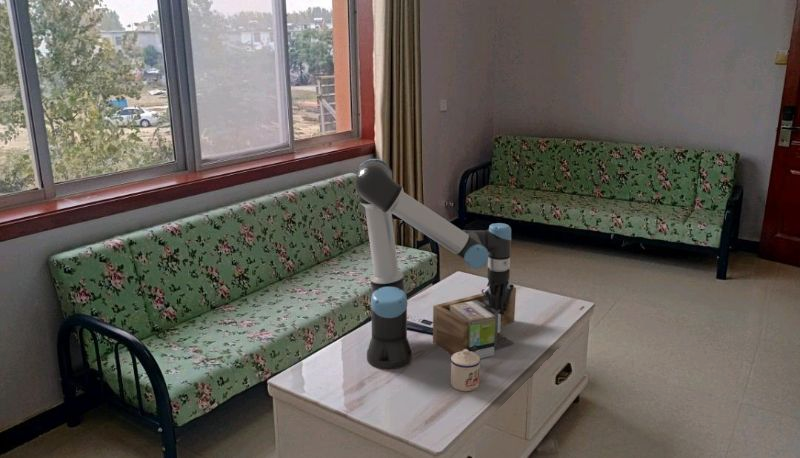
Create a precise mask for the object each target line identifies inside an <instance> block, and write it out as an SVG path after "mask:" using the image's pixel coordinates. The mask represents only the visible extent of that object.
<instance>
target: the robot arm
mask: <svg viewBox="0 0 800 458" xmlns="http://www.w3.org/2000/svg"><path fill="white" fill-rule="evenodd" d="M354 186H355V187H354V188H355V190H356V192H357V194H358V198H359V204H360V205H362V206H363V207H364V210H365V218H366V224H367V231H368V232H367V233H368V239H369V240H368V241H369V247H370V256H371V262H372V263H371V264H372V270H373V274H372V275H371V276H370V278H369V281H370V288H371V297H370V307H371V311H370V312H371V314H370V315H371V339H370V342H369V344H368V347H367V351H366V360H367V363H368V364H370V365H371V366H372V367H375V368H379V369H383V370H385V369H386V370H394V369H400V368H404V367H405V366H408V365H409V364H410V363H411V362H412V359H413V351H412V348H411V345H410V342H409V339H408V331H407V330H408V322H407V321H408V298H407V289H406V285H405V277H404V273H403V272H402V271H401V270H399V264H398V263H399V262H398V257H397V256H398V255H397V249H396V247H397V246H396V239H395V231H394V224H393V223H394V221H393V215H394V216H396V217H397V218H399V219H401V220H402V221H404V222H405V223H406V224H408V225H410V226H411V227H413V229H416V230H417V231H418V232H420V233H422V234H423V235H425V236H427V237H428V238H430V239H432V241H434V242H436V243H437V244H439V245H441V246H442V247H443V248H445V249H447V250H449V252H451V253H453V254H454V255H456V256H457V257H459V258H460V259H462V260H463V261H464V262H465V263H466V265H467V266H468V267H470V268H471V269H473V270H474V269H475V270H479V269H481V268H483V267H485V266H486V265H487V278H486V279H487V280H488V282H487V285H486V287H485V289H484V288H483V289H481V294H482V293H483V295H484V300H485V305H487V306H489V307H491V308H493V309H495V310H496V311H498V331H497V333H500V332H501V326H500V324H501V321H502V315H504V314H505V313H504V311H507V308H508V304H509V300H510V295H511V291H512V289H513V287H515V285H514V284H512V283H510V281H509V280H510V273H511V271H510V267H511V266H510V265H511V248H512V246H511V245H512V228H511V226H510V225H509V224H506V223H502V222H497V223H491V224H490V225H489V227H488V229H486V230H465V229H463V230H462V229H461V228H459V227H458V226H456V225H455V224H453V223H451V222H450V221H449V220H447V219H445V218H444V217H443V216H441V215H440V214H438V213H436V212H435V211H433V210H432V209H430V208H429V207H427V206H426V205H425V204H423V203H422V202H419V201H418V200H416V199H415V198H414V197H412V196H410V195H409V194H408V193H406V192H405V191H404V187H403V186H401V185H400V184H398V183H397V182H396V181H395V180H394V179H393V171H392V169H391V167H390V165H388V163H387V162H385V160H384V161H383V160H382V159H379V158H370V159H368V160H366V161H364V162H362V163H361V164H360V165H359V167H358V168H357V171H356V176H355V179H354Z"/></svg>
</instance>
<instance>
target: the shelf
mask: <svg viewBox="0 0 800 458" xmlns="http://www.w3.org/2000/svg"><path fill="white" fill-rule="evenodd" d="M516 294H517V287H516V286H514V287H513V289H512V291H511V295H510V300H509V304H508V308H507V311H504V313H505V314H504V315H502V321H501V324H500V327H502V326H505V325H508V324H511V323H514V322H515V315H516V314H515V313H516ZM474 300H477V301H479V302H481V303H483V304H485V300H484V295H483V293H482V292H481V293H479V294H474V295H470V296H467V297H462V298H457V299H454V300H451V301H447V302H442V303H440V304H439V303H438V304H436V305H433V309H432V310H433V312H432V343H433V344H434V345H436V346H437V347H439V348H441V350H443V351H444V352H446V353H447V354H450V355H451V356H452V355H453V354H454V353H456V352H460V351H463V350H464V349H467V341H468V322H467V321H466V320H464V319H462V318H460V317H459V316H457V315H455V314H454V313H452V312H450V305H453V304H459V303H465V302H470V301H474Z"/></svg>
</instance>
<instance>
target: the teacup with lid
mask: <svg viewBox="0 0 800 458" xmlns="http://www.w3.org/2000/svg"><path fill="white" fill-rule="evenodd" d="M481 361H482V360H481V358H480V357H479V356H478V355H477V354H475V353H473V352H469V350H467V349H464V350H463V351H460V352H456V353H454V354H453V355H451V356H450V363H451V366H450V367H451V369H450V384H451V386H452V388H454V389H456V390H458V391H461V392H471V391H474V390H476V389H478V387H479V386H480V369H481V368H480V365H481Z"/></svg>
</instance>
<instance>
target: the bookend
mask: <svg viewBox="0 0 800 458" xmlns="http://www.w3.org/2000/svg"><path fill="white" fill-rule="evenodd" d="M474 301H475V302H476V303H477V304H479V305H480V306H482V307H483V308H485V309H486V310H488V311H489V312H490V313H492V314H493V315H495V340H494V351H495V350H498V349H501V348H504V347H508V346H511V345H514V343H515V342H514V341H513V340H511V339H510V338H508V337H506V336H504V335H502V334H501V333H500V332H498V333H497V331H498V311H496V310H495V309H493V308H491V307H489V306H487V305H485V304H483V303H481V302H479V301H477V300H474Z"/></svg>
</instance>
